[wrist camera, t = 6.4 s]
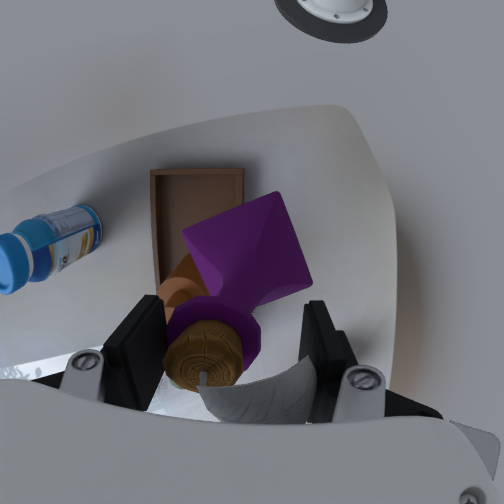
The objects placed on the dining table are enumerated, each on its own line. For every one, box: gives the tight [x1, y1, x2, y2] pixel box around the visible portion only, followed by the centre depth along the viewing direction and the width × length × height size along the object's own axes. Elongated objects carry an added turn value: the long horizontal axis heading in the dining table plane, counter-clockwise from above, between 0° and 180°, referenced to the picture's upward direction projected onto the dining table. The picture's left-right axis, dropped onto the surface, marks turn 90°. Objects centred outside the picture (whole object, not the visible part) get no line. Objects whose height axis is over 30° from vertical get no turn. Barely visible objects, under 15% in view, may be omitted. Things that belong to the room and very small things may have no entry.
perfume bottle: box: [163, 191, 317, 425], centre depth 15 cm, size 8×8×18 cm
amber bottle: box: [157, 254, 211, 324], centre depth 35 cm, size 6×6×14 cm
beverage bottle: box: [0, 205, 102, 295], centre depth 31 cm, size 8×8×20 cm
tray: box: [150, 168, 244, 293], centre depth 41 cm, size 30×13×2 cm, turn 178°
